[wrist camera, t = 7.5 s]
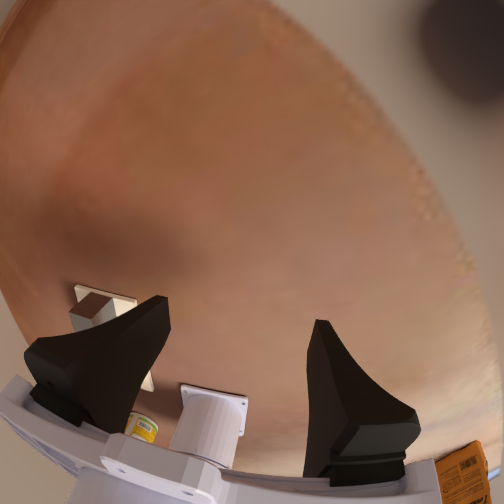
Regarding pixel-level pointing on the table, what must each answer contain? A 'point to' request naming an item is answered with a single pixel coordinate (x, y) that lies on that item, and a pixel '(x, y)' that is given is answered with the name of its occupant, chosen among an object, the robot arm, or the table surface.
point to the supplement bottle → (141, 427)
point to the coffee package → (464, 476)
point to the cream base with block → (101, 313)
